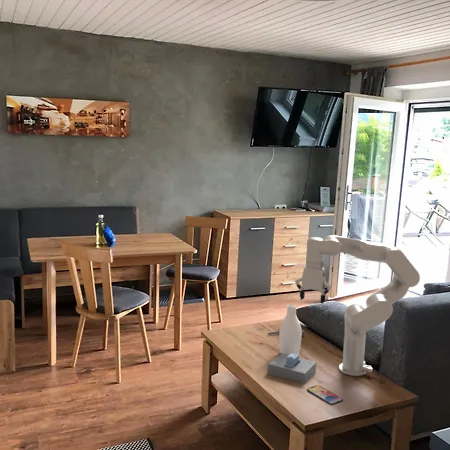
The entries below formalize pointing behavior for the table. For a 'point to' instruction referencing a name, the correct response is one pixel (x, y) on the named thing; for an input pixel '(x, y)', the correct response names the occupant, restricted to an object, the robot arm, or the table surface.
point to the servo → (292, 360)
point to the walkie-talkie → (279, 331)
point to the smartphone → (324, 394)
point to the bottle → (290, 332)
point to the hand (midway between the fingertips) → (312, 300)
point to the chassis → (292, 369)
